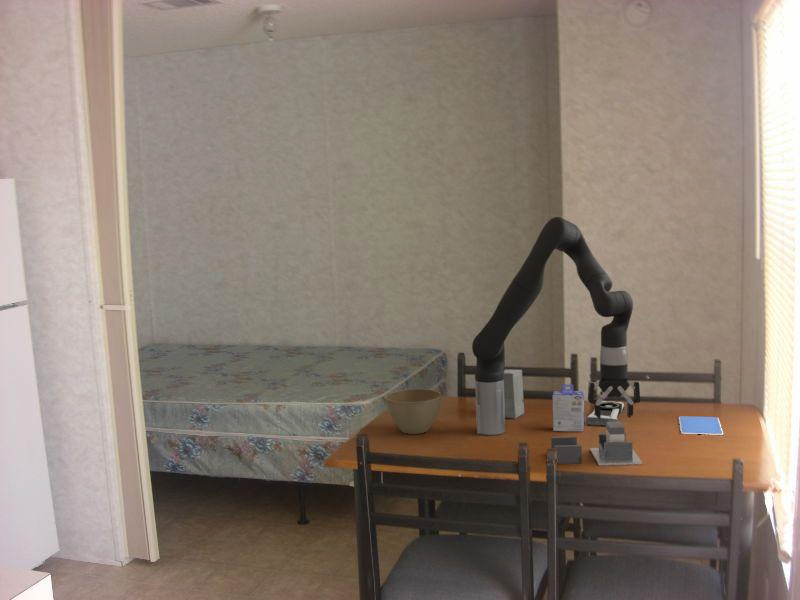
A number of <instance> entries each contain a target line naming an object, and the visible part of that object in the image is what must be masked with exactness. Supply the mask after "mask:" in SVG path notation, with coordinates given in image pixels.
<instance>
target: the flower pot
mask: <svg viewBox="0 0 800 600" xmlns="http://www.w3.org/2000/svg"><path fill="white" fill-rule="evenodd" d="M441 396H442V395H441V392H440V391H438V390H434V389H430V388H429V389H428V388H410V389H401V390H397V391H392V392H390V393H388V394H387V395H386V396H385V402H386V406H387V410H388V413H389V414H390V417H391V419H392V420H393V422H394V424H395V425H396V426H397V427H398V429H399V430H400V431H401V432H402V433H404V434H406V433H408V434H407V435H420V433H421V434H424V432H425V433H427V432H428V431H429V430H430V429H431V427H432V425H433V424H434V422H435V420H436V418H437V417H438V414H439V410H440V406H441V398H442V397H441Z"/></svg>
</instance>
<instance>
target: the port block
mask: <svg viewBox="0 0 800 600" xmlns="http://www.w3.org/2000/svg"><path fill="white" fill-rule="evenodd" d="M626 434H627V433H625V442H606V432H605V433H604V432H603V433H598V447H590V448H589V451H590V453H591V454H592V456H593V458H594V460H595V461H596V463H597V465H598V466H625V465H627V466H633V465H635V466H636V465H643V461H642V460H641V459H640V457H639V455H638V454H637V453H636V451H634V449H633V442H632V441H626V439H627V437H626V436H627V435H626Z"/></svg>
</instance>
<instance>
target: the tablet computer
mask: <svg viewBox="0 0 800 600" xmlns="http://www.w3.org/2000/svg"><path fill="white" fill-rule="evenodd" d="M679 424H680V425H679ZM678 425H679V432H680V431H681V433H682V434H706V435H708V434H709V435H723V434H724V431H723V428H721V427H722V425H721V422H720V419H719V417H717V416H690V415H689V416H687V415H682V416H681V415H680V416H678ZM681 433H680V434H681ZM682 434H681V435H682Z"/></svg>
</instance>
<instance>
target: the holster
mask: <svg viewBox="0 0 800 600" xmlns="http://www.w3.org/2000/svg"><path fill="white" fill-rule="evenodd" d="M551 449H556V451H557V458H558V464H557V465H560V464H562V465H565V464H568V465H569V464H582V463H583V460H582V459H583V455H582V454H583V453H582V452H583V451H582V449H583V448H582V445H581V444H578V437H577V436H575V435H573V436H572V435H571V436H550V450H551Z"/></svg>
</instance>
